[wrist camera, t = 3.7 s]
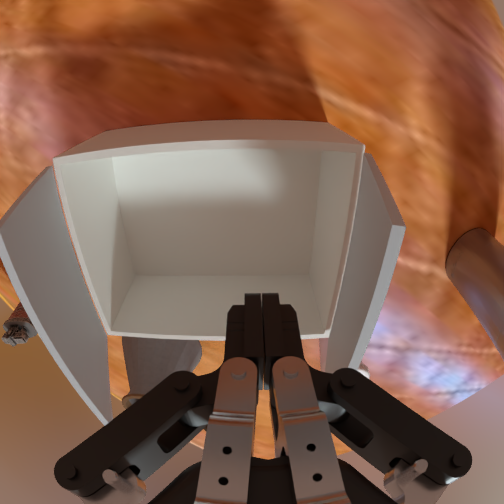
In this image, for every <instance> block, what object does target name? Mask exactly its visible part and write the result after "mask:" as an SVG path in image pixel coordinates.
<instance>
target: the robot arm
mask: <svg viewBox="0 0 504 504" xmlns="http://www.w3.org/2000/svg"><path fill="white" fill-rule="evenodd" d="M446 273H447V276H448V278H449V279H450V280H451V282H452V283H453V284H454V286H455V287H456V288H457V290H458V291H459V292H460V294H461V295H462V297H463V298H464V300H465V301H466V302H467V304H468V305H469V307H470V308H471V310H472V311H473V312H474V314H475V315H476V317H477V318H478V320H479V321H480V323H481V324H482V326H483V327H484V329H485V331H486V332H487V334H488V335H489V337H490V338H491V340H492V342H493V343H494V345H495V347H496V348H497V350H498V351H499V353H500V355H501V356H502V358H503V360H504V246H503V245H501V244H500V243H499V242H498V241H497V240H496V239H495V238H494V237H493V236H492V235H491V234H489V233H488V232H487V231H486V230H484V229H480V228H477V229H473V230H471V231H469V232H467V233H466V234H464V235H463V236H462V237H461V238H460V239H459V240H458V241H457V242H456V243H455V245H454V246H453V248H452V249H451V251H450V253H449V255H448V258H447V262H446ZM263 378H264V390H269V393H270V402H269V407H270V414H271V421H272V428H273V435H274V442H275V458H274V459H270V460H266V459H261V458H256V457H253V452H254V436H255V422H256V408H257V404H258V395H259V390H262V388H263ZM207 424H208V426H207ZM206 426H207V432H206V438H205V444H204V450H203V457H202V461H201V462H198V463H196V464H193V465H192V466H190V467H188V468H187V469H186V470H184V471H183V472H182V473H181V474H180V475H179V476H178V477H176V478H175V479H174V480H173V481H172V482H171V483H170V484H169V485H168V486H167V487H166V488H165V489H164V490H163V491H162V492H160V493H159V494H158V495H157V496H156V497H155V498H154V499H153V500H151V501H150V502H149V503H148V504H435V503H436V502H437V500H438V499H439V498H440V496H441V495H442V493H443V492H444V490H445V489H446V487H447V486H448V485H449V484H450V483H452V482H454V481H455V480H457V479H459V478H460V477H462V476H464V475H465V474H466V473H467V472H468V471H469V469H470V468H471V465H472V456H471V453H470V451H469V450H468V449H467V448H466V447H465V446H463V445H462V444H460V443H459V442H458V441H456V440H455V439H453V438H452V437H450V436H449V435H447V434H446V433H444V432H443V431H441V430H440V429H438V428H437V427H436V426H434V425H433V424H431V423H430V422H428V421H427V420H426V419H424V418H423V417H421V416H420V415H418V414H417V413H416V412H414V411H413V410H411V409H410V408H408V407H407V406H406V405H404V404H403V403H401V402H400V401H399V400H397V399H396V398H394V397H393V396H392V395H390V394H389V393H387V392H386V391H385V390H383V389H382V388H380V387H379V386H378V385H376V384H375V383H374V382H372V381H371V380H369V379H368V378H367V377H365V376H364V375H363V374H361V373H360V372H358V371H357V370H355V369H352V368H341V369H338V370H336V371H335V372H334V373H333V374H332V373H327V372H322V371H318V370H316V369H314V368H312V367H311V366H309V365H308V364H307V362H306V361H305V359H304V355H303V348H302V342H301V336H300V330H299V325H298V319H297V313H296V311H295V310H294V308H293V307H292V306H291V304H280V301H279V294H278V293H262V307H261V293H245V297H244V305H232V307H231V308H230V310H229V311H228V313H227V325H226V340H225V354H224V361H223V363H222V365H221V366H220V367H219V368H218V369H217V370H216V371H214V372H212V373H209V374H205V375H201V376H196V375H195V374H194V373H192V372H190V371H184V370H183V371H176V372H174V373H172V374H170V375H169V376H168V377H166V378H165V379H164V380H163V381H161V382H160V383H159V384H158V385H156V386H155V387H154V388H153V389H151V390H150V391H149V392H148V393H146V394H145V395H144V396H143V397H141V398H140V399H139V400H137V401H136V402H135V403H134V404H132V405H131V406H130V407H128V408H127V409H126V410H125V411H123V412H122V413H121V414H119V415H118V416H117V417H116V418H114V419H113V420H112V421H110V422H109V423H108V424H106V425H105V426H104V427H102V428H101V429H100V430H98V431H97V432H96V433H94V434H93V435H92V436H90V437H89V438H88V439H86V440H85V441H84V442H82V443H81V444H80V445H78V446H77V447H75V448H74V449H73V450H71V451H70V452H69V453H67V454H66V455H64V456H63V457H61V458H60V459H59V460H58V461H57V463H56V465H55V468H54V475H55V478H56V480H57V482H58V483H59V484H60V485H61V486H62V487H63V488H65V489H67V490H69V491H71V492H72V493H73V494H75V495H77V496H78V497H80V498H81V500H82V501H83V502H84V504H140V503H141V502H142V500H143V499H144V498H145V496H146V485H145V483H144V482H143V481H144V480H145V479H147V478H148V477H149V476H150V475H152V474H153V473H154V472H155V471H156V470H158V469H159V468H160V467H161V466H162V465H163V464H165V463H166V461H168V460H169V459H170V458H172V457H173V456H174V455H175V454H176V453H177V452H178V451H179V450H181V449H182V448H183V447H184V446H185V445H186V444H187V443H188V442H190V441H191V440H192V439H193V438H194V437H195V436H196V435H197V434H198V433H199V432H200V431H201V430H203V429H204V428H205V427H206ZM331 433H332V434H334V435H335V436H336V437H337V438H339V439H340V440H341V441H342V442H343V443H345V444H346V445H347V446H348V447H350V448H351V449H352V450H353V451H355V452H356V453H357V454H358V455H360V456H361V457H363V458H364V459H365V460H366V461H367V462H369V463H370V464H371V465H373V466H374V467H375V468H377V469H378V470H379V471H381V472H382V473H384V474H385V477H384V487H385V489H386V491H387V492H388V493H389V494H390V495H391V496H392V499H391V498H390V497H389V496H388V495H386V494H385V493H384V492H383V491H381V490H380V489H379V488H378V487H376V486H375V485H374V484H373V483H371V482H370V481H369V480H368V479H366V478H365V477H364V476H363V475H362V474H361V473H359V472H358V471H357V470H356V469H355V468H354V467H352V466H351V465H350V464H348V463H347V462H345V461H343V460H341V459H338V458H337V455H336V451H335V447H334V444H333V440H332V436H331Z"/></svg>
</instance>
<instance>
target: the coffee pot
mask: <svg viewBox="0 0 504 504" xmlns="http://www.w3.org/2000/svg"><path fill="white" fill-rule="evenodd" d="M122 345H123V352H124V358H125V364H126V370H127V375H128V381H129V386H130V392H129V393H128V395H126V396H124V397H123V399H122V404H123V406H124V408H125V409H127V408H128V407H130V406H131V405H132V404H134V403H135V402H136V401H137V400H139V399H140V398H141V397H143V396H144V395H145V394H146V393H148V392H149V391H150V390H151V389H153V388H154V387H155V386H156V385H158V384H159V383H160V382H161V381H163V380H164V379H165V378H166V377H168V376H169V375H170V374H172V373H174V372H176V371H183V370H184V371H190V372H192V371H193V370H194V369H195V367H196V366H197V365H198V363H199V362H200V359H201V356H202V348H201V344H200V342H199V340H180V339H159V338H142V337H129V336H122ZM207 426H208V424H207ZM207 426H206V427H205V428H204V430H205V431H207Z"/></svg>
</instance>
